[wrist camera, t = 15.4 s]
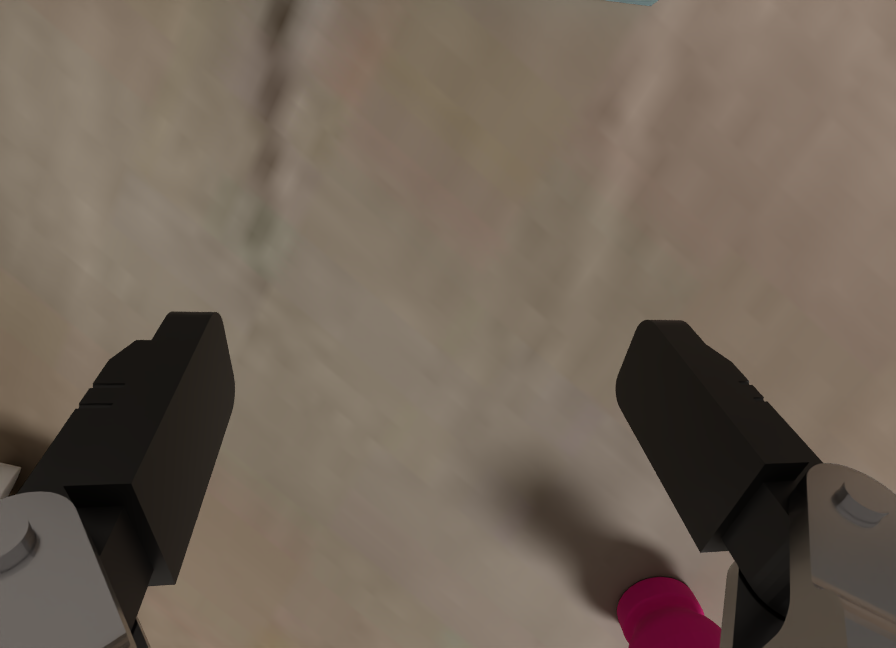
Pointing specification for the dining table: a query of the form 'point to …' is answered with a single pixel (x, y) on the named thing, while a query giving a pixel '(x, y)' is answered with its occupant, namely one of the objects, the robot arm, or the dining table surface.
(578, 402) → the dining table surface
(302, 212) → the dining table surface
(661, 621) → the pepper mill
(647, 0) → the pallet
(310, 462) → the dining table surface
